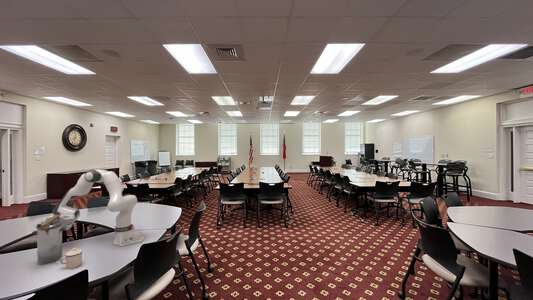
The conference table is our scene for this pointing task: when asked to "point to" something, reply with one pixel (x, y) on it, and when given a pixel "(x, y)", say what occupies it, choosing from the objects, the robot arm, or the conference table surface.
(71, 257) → the teacup with lid
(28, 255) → the conference table surface
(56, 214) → the lock bar
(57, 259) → the grey tall piece
